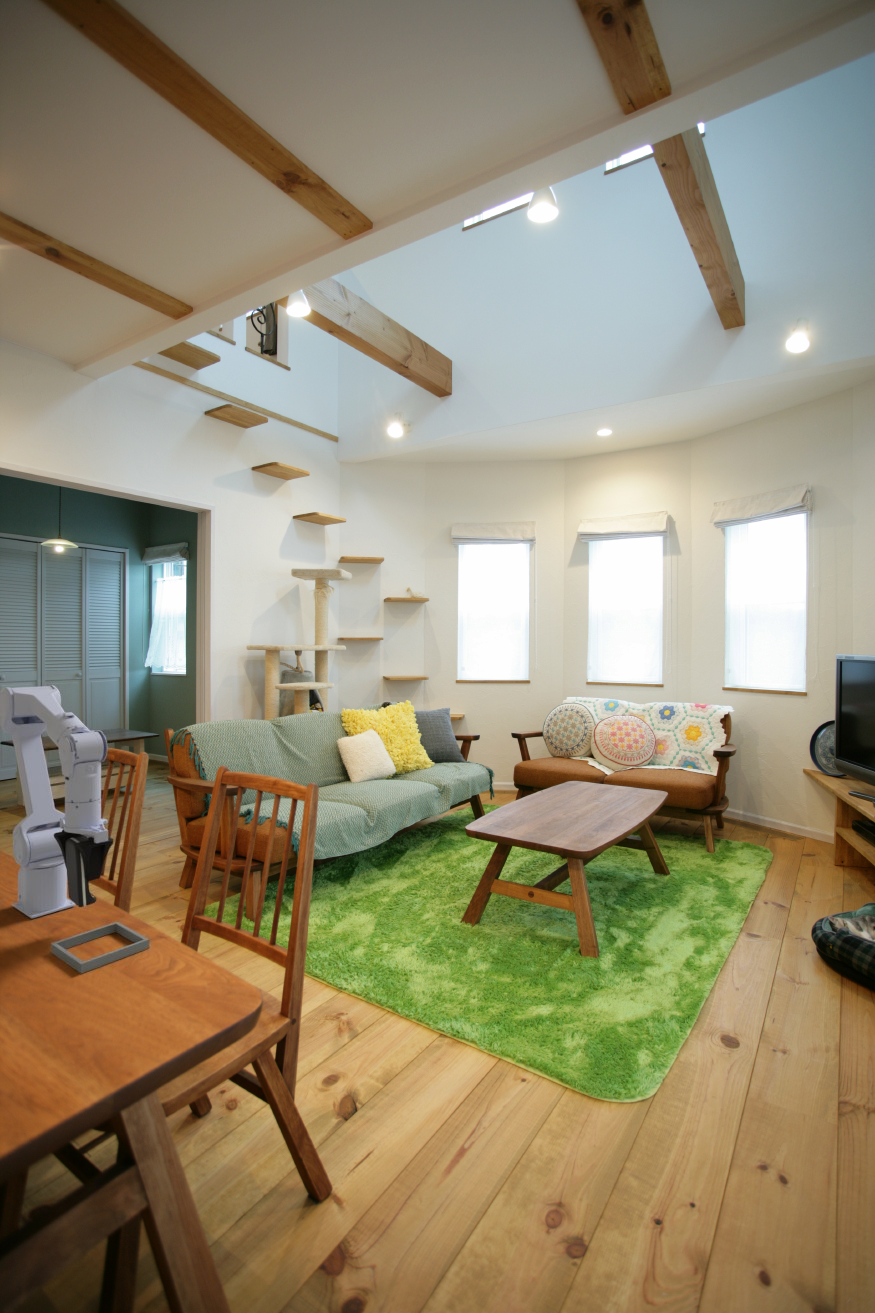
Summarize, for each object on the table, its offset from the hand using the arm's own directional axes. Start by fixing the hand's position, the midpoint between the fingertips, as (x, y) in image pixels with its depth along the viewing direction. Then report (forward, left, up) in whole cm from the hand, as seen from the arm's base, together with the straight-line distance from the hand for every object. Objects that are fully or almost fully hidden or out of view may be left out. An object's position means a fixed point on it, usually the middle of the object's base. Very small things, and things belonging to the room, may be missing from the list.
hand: (83, 874), depth 118 cm
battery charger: (0, 0, -5) cm, 5 cm away
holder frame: (+9, -1, -10) cm, 14 cm away
